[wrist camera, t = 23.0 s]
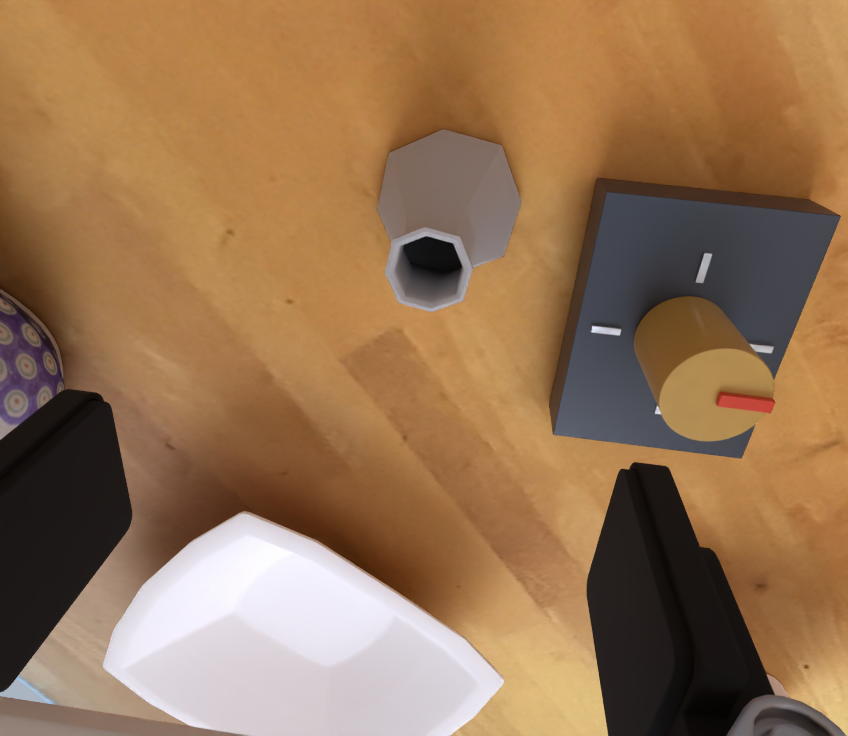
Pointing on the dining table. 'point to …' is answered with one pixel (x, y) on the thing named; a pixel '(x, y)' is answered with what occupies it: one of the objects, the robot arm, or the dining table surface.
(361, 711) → the bowl
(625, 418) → the panel
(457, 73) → the dining table surface
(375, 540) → the dining table surface
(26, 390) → the teapot
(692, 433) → the yellow dial knob
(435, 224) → the flask
